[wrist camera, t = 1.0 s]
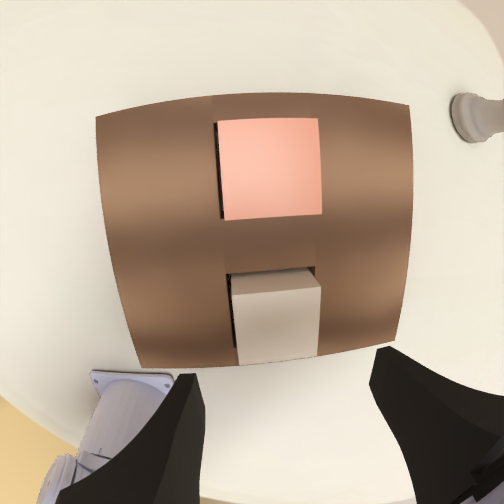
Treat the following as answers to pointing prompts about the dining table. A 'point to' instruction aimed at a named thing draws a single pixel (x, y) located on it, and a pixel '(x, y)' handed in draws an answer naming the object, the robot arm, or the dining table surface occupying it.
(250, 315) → the ivory key
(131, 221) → the key panel
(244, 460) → the dining table surface
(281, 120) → the terracotta key
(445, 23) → the dining table surface
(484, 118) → the rook chess piece
